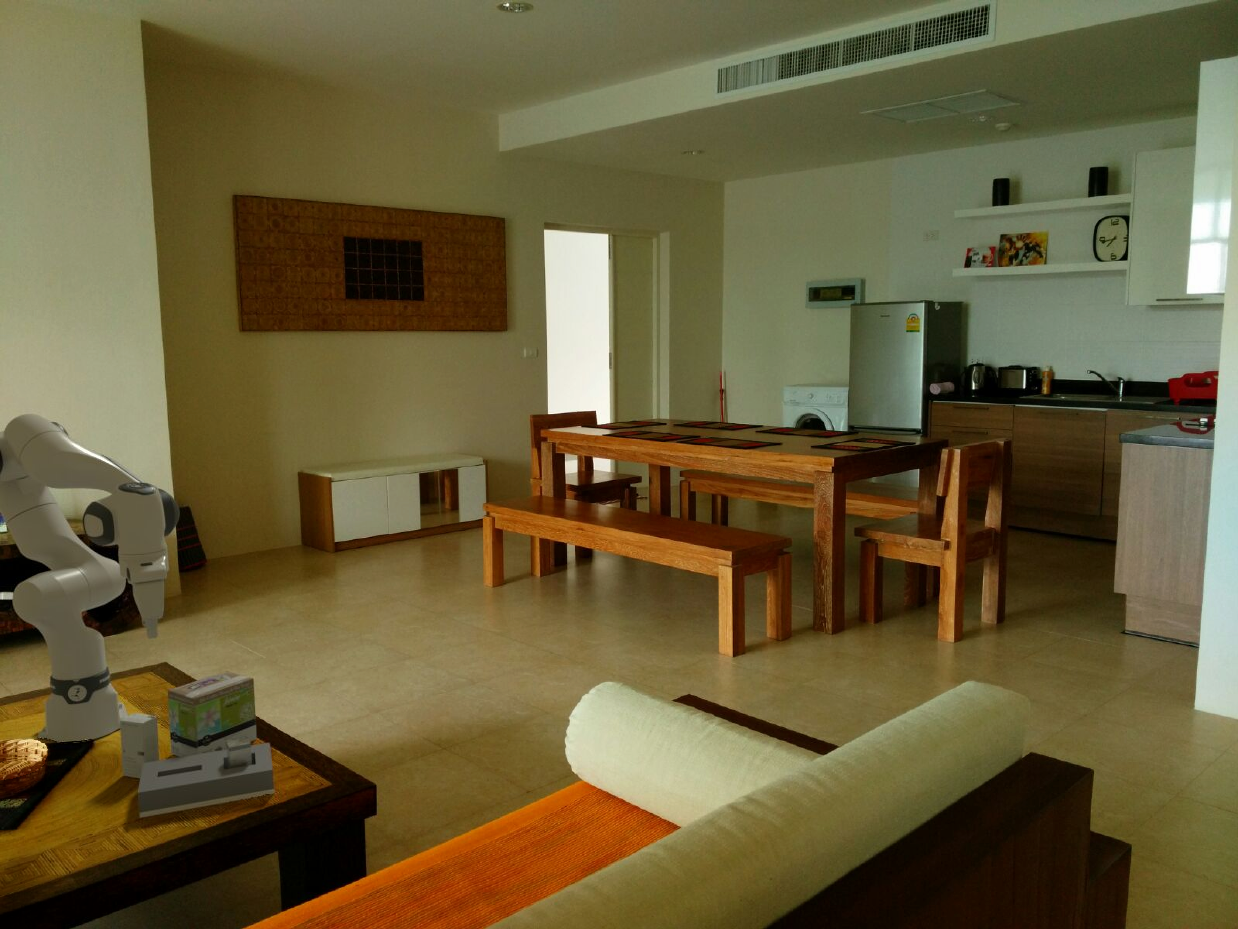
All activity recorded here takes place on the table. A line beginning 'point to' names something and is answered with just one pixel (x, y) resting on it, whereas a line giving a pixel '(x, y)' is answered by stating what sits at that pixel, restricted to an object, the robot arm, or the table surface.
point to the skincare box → (138, 742)
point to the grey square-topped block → (238, 752)
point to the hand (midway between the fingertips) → (149, 631)
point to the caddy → (202, 781)
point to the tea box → (211, 713)
